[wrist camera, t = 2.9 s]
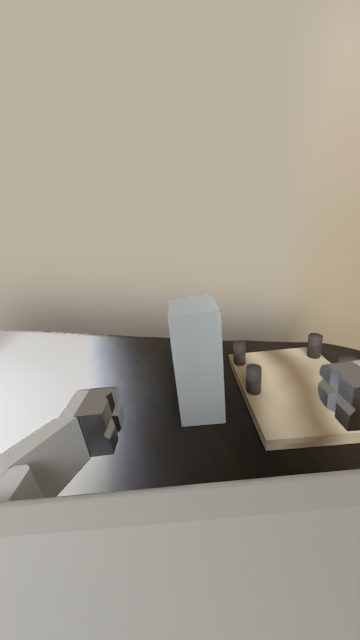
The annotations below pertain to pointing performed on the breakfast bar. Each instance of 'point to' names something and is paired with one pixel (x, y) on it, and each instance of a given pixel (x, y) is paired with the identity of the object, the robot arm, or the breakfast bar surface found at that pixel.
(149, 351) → the breakfast bar surface
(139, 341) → the breakfast bar surface
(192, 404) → the block
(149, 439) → the breakfast bar surface
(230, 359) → the birch pin plate
